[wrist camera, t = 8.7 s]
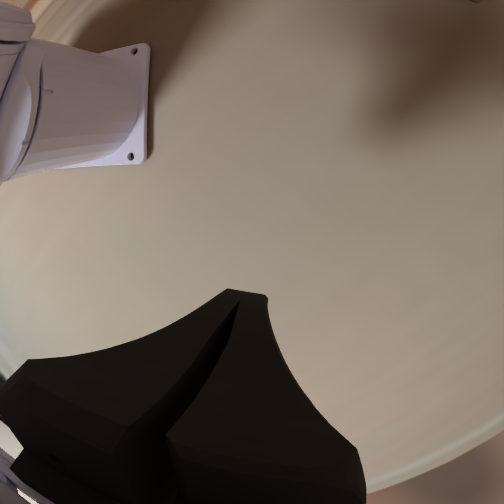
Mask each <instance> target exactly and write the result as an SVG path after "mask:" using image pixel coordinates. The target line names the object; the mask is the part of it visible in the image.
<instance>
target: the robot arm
mask: <svg viewBox="0 0 504 504" xmlns="http://www.w3.org/2000/svg"><path fill="white" fill-rule="evenodd" d="M32 21H33V20H32V16H31V12H30V11H28V10H26V9H23V8H20V7H17V6H14V5H11V4H7V3H3V2H0V185H1V184H2V183H3V182H5V181H8V180H12V179H15V178H19V177H23V176H27V175H31V174H35V173H39V172H43V171H47V170H52V169H62V168H74V167H88V166H105V165H126V164H141V163H143V162H145V160H146V159H147V105H148V80H149V64H150V50H151V49H150V46H149V45H148V44H145V43H140V44H135V45H130V46H126V47H122V48H117V49H113V50H109V51H106V52H102V53H94V52H90V51H87V50H83V49H79V48H75V47H71V46H67V45H63V44H59V43H54V42H50V41H45V40H40V39H35V38H31V36H32V34H33V32H34V31H35V28H36V25H35V24H34V23H33V22H32ZM136 49H138V52H137V53H136V54H135V55H134V51H135V50H136ZM131 153H133V154H134V159H133V160H132V159H131ZM267 303H268V298H267V297H266V295H263V294H257V293H251V292H245V291H239V290H233V289H226V290H224V291H223V292H221V293H220V294H218V295H217V296H215V297H214V298H212V299H211V300H210V301H208V302H207V303H205V304H204V305H202V306H201V307H199V308H198V309H196V310H195V311H193V312H191V313H190V314H188V315H186V316H185V317H183V318H181V319H179V320H178V321H176V322H174V323H172V324H170V325H169V326H167V327H165V328H162V329H160V330H158V331H156V332H154V333H151V334H149V335H146V336H144V337H142V338H139V339H136V340H133V341H130V342H127V343H124V344H121V345H117V346H114V347H111V348H108V349H104V350H99V351H95V352H90V353H85V354H79V355H74V356H66V357H57V358H44V359H28V360H27V361H26V362H25V363H24V364H23V365H22V366H21V367H20V368H19V369H18V370H17V371H16V372H15V373H14V374H13V375H12V376H11V377H10V378H9V379H8V380H7V381H6V382H5V383H4V384H3V385H2V386H1V387H0V414H1V415H2V417H3V419H4V420H5V422H6V423H7V425H8V426H9V428H10V429H11V431H12V432H13V434H14V435H15V436H16V438H17V439H18V441H19V442H20V444H21V445H22V446H23V448H24V449H23V450H22V452H21V453H20V455H19V456H18V457H17V458H16V459H14V458H13V457H12V456H10V455H9V454H8V453H6V452H5V451H4V450H3V449H1V448H0V504H31V503H29V502H28V501H27V500H25V499H24V498H23V497H21V496H20V495H19V494H18V490H17V488H18V489H19V490H20V491H22V492H23V493H24V494H26V495H27V496H29V497H30V498H31V499H33V500H34V501H36V502H37V503H39V504H366V483H365V477H364V473H363V468H362V464H361V461H360V457H359V454H358V451H357V449H356V447H354V446H353V445H352V444H351V443H350V442H349V441H348V440H347V439H346V438H344V437H343V436H342V435H341V434H340V433H339V432H338V431H337V430H336V429H335V428H333V427H332V426H331V425H330V424H329V423H328V421H327V420H326V419H325V418H324V417H323V416H322V415H321V414H320V412H319V411H318V410H317V409H316V408H315V406H314V405H313V404H312V402H311V401H310V400H309V398H308V397H307V396H306V394H305V393H304V392H303V390H302V389H301V388H300V386H299V385H298V383H297V381H296V380H295V378H294V376H293V375H292V373H291V371H290V370H289V368H288V366H287V364H286V362H285V360H284V358H283V356H282V354H281V351H280V349H279V347H278V344H277V342H276V339H275V336H274V333H273V330H272V326H271V323H270V319H269V314H268V307H267Z"/></svg>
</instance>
